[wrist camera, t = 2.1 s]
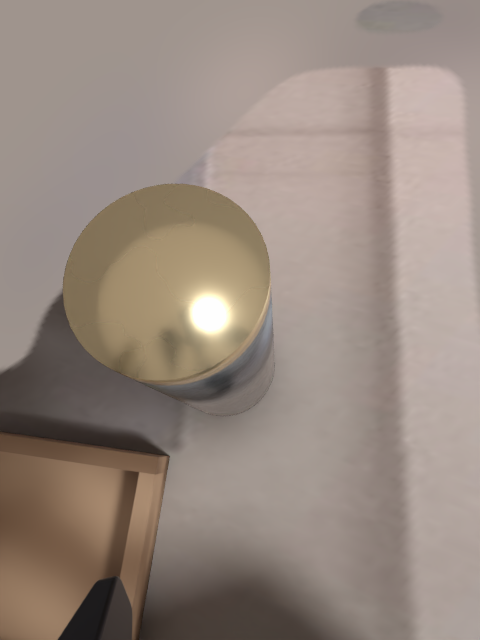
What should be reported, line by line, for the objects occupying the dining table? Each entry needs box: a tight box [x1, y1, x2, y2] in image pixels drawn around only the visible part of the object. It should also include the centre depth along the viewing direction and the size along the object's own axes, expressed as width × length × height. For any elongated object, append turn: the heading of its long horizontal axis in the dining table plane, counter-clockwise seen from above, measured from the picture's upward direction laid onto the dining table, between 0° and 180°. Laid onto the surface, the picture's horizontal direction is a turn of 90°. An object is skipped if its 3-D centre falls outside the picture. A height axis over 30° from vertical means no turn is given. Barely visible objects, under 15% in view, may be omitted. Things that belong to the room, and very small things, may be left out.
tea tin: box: [63, 184, 275, 416], centre depth 17 cm, size 6×6×13 cm
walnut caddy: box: [0, 432, 170, 640], centre depth 21 cm, size 11×11×2 cm
